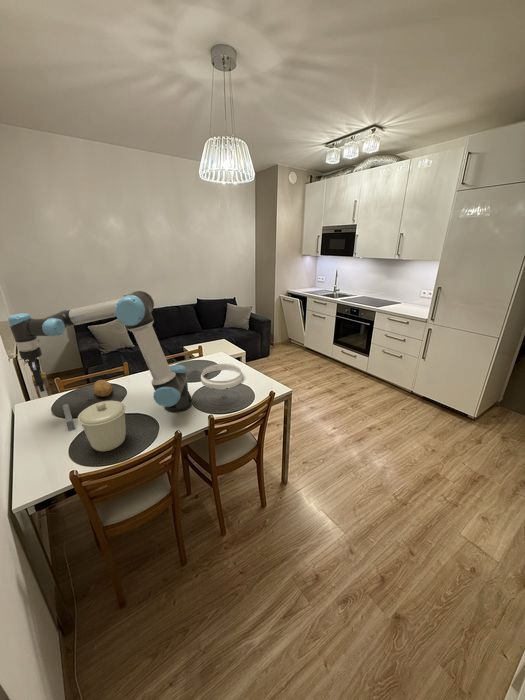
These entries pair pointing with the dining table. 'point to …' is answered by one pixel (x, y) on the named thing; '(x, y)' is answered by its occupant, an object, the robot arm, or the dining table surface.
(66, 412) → the grey bar
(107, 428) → the canister
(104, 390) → the potato
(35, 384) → the block
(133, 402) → the dining table surface
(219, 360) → the dining table surface
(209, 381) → the white flat ring
